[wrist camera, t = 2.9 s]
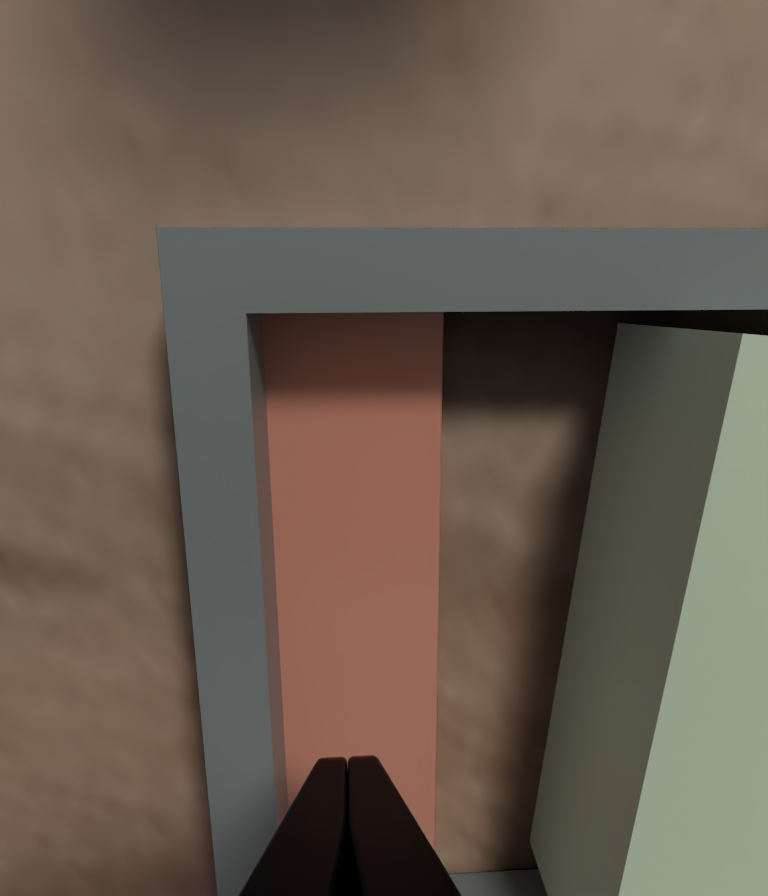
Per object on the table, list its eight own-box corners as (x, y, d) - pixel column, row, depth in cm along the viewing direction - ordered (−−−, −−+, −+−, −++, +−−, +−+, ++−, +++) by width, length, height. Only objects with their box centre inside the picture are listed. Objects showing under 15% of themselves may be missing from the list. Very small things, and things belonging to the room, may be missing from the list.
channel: (245, 926, 14) (229, 1027, 12) (191, 241, 10) (156, 227, 9) (1009, 879, 15) (1106, 963, 13) (1203, 240, 12) (1376, 228, 10)
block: (525, 829, 14) (590, 1024, 10) (610, 322, 12) (743, 333, 8) (761, 834, 15) (907, 1023, 11) (900, 347, 12) (1162, 369, 8)
